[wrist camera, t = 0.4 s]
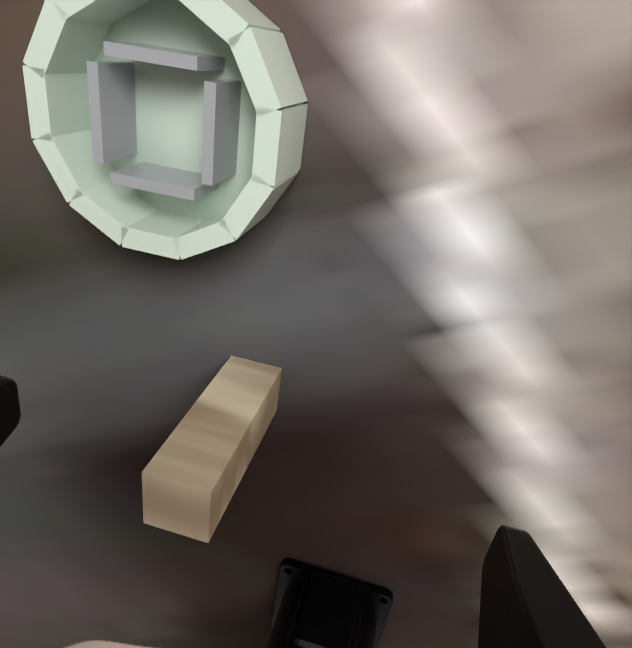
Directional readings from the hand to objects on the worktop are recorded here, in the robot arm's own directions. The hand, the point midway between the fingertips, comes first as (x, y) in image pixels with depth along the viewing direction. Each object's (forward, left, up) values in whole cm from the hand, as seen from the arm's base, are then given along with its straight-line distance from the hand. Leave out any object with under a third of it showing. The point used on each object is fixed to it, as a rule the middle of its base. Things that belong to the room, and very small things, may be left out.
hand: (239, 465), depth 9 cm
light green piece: (+4, +7, -13) cm, 15 cm away
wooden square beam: (-8, +4, -13) cm, 16 cm away
